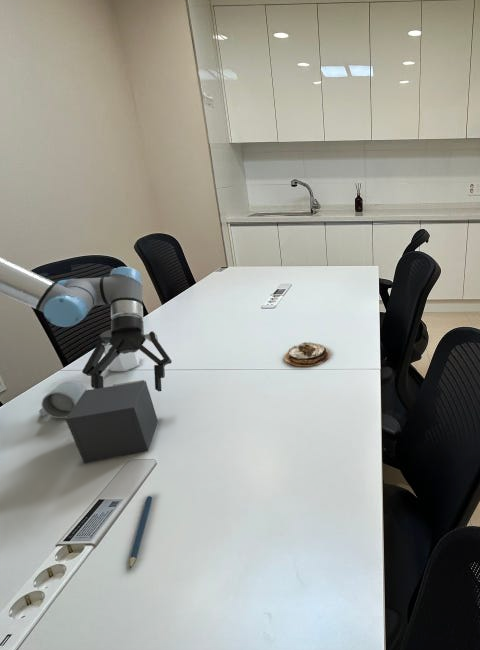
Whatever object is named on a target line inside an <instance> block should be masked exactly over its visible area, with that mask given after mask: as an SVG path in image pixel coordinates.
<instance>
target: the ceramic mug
mask: <svg viewBox="0 0 480 650" xmlns="http://www.w3.org/2000/svg"><path fill="white" fill-rule="evenodd" d="M85 390H88V389H87V387H86V386H85V385H84V384H83V383H82V382H80V381H77V380H67V381H63V382H62V383H60V384H59V385H57V386H56V387H55V388H54V389H52V390H51V391H50V392H48V393H47V394H45V396H44V397H43V398H42V400H41V408H40V409H39V410H38V413H39V414H40V415H41V416H47V415H48V416H50V417H52V418H55V419H66V417H67V416H68V415H69V413H70V412H71V410H72V409H73V407H74V406H75V405H76V403H77V402H78V400H79V399H80V397H81V396H82V395H83V393H84V392H85Z"/></svg>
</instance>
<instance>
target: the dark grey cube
mask: <svg viewBox="0 0 480 650" xmlns="http://www.w3.org/2000/svg"><path fill="white" fill-rule="evenodd" d="M64 419H65V421H66V422H65V423H66V424H67V427H68V429H69V431H70V433H71V436H72V438H73V441H74V443H75V445H76V448H77V450H78V452H79V455H80V457H81V460H82V462H83V464H88V463H92V462H97V461H102V460H107V459H112V458H117V457H118V458H119V457H122V456H123V457H124V456H128V455H133V454H138V453H142V452H148V451H149V450H150V447H151V443H152V440H153V437H154V434H155V432H156V428H157V425H158V422H159V419H158V417H157V413H156V409H155V407H154V403H153V400H152V397H151V393H150V390H149V387H148V383H147V380H144V381H142V382H136V383H129V384H123V385H117V386H113V385H112V386H105V387H104V386H103V388H97V389H94V388H92V389H87V390H85V392H84V393H83V395H82V396H81V397H80V399H79V400H78V402H77V403H76V405H75V406H74V407H73V409H72V410H71V412H70V413H69V415H68V416H67V417H66V418H64Z"/></svg>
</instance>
